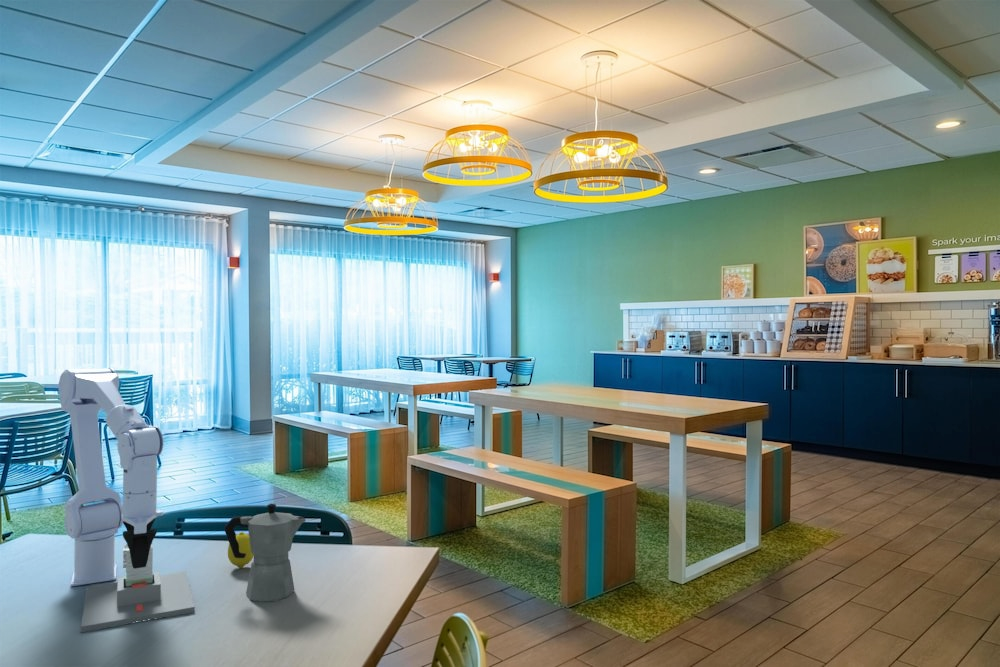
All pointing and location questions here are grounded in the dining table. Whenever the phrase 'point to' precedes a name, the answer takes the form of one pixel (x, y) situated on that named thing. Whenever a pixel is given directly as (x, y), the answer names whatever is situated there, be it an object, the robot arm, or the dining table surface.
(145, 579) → the white rectangular block
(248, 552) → the lemon
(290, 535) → the coffeepot
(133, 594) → the jack base
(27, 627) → the dining table surface
